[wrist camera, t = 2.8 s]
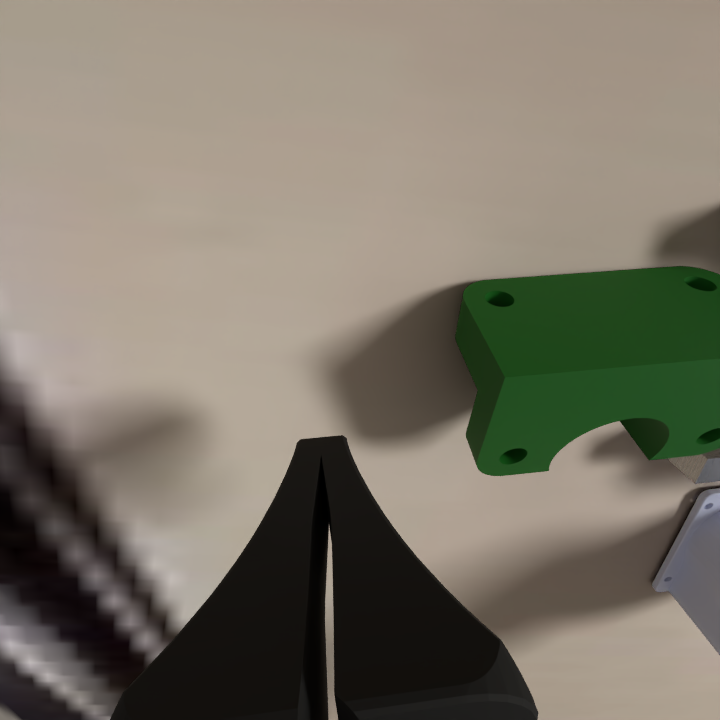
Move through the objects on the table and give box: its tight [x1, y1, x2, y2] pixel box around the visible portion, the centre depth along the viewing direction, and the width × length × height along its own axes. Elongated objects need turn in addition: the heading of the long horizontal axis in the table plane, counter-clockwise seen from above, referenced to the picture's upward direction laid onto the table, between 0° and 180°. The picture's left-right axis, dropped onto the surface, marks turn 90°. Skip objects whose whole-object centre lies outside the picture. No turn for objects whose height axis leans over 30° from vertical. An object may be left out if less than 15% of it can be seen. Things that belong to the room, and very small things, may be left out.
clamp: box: [455, 266, 720, 476], centre depth 15 cm, size 11×6×8 cm, turn 86°
